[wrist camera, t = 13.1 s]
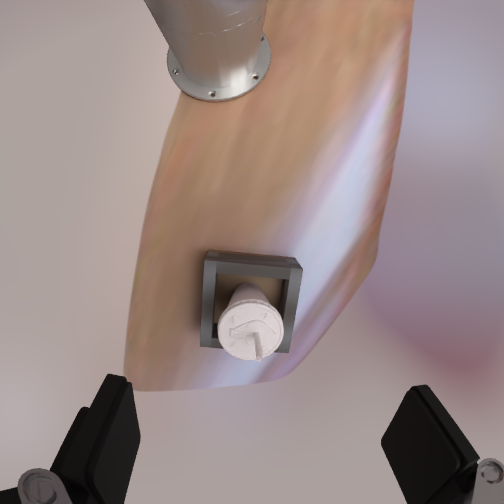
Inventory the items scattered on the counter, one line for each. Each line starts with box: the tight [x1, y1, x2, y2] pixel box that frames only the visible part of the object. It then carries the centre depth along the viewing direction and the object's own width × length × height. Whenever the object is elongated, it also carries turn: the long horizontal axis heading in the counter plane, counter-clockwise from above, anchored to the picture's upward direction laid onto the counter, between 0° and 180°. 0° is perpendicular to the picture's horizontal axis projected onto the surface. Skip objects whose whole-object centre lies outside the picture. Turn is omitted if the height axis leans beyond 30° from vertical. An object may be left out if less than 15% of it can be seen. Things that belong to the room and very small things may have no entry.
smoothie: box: [217, 282, 284, 361], centre depth 31 cm, size 6×6×14 cm
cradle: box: [200, 250, 303, 353], centre depth 36 cm, size 11×11×5 cm
